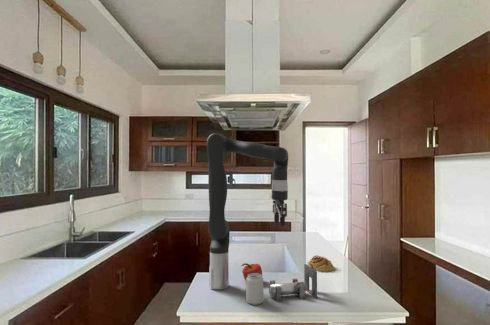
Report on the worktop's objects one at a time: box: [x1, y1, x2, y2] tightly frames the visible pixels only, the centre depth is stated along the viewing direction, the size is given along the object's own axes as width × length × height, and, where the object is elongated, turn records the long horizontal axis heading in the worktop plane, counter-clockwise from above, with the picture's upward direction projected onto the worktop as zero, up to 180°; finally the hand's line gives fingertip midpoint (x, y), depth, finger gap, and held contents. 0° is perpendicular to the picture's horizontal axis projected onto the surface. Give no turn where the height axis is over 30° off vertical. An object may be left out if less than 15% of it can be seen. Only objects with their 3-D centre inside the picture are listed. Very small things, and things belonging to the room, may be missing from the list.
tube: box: [268, 280, 307, 297], centre depth 160 cm, size 16×5×5 cm, turn 103°
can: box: [245, 273, 264, 306], centre depth 154 cm, size 8×8×12 cm
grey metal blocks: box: [269, 279, 282, 302], centre depth 159 cm, size 2×10×6 cm, turn 13°
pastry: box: [307, 254, 336, 273], centre depth 202 cm, size 13×15×8 cm
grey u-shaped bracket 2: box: [292, 277, 306, 300], centre depth 162 cm, size 2×10×6 cm, turn 13°
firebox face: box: [303, 263, 318, 300], centre depth 163 cm, size 1×12×12 cm, turn 13°
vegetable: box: [241, 262, 263, 282], centre depth 179 cm, size 11×10×10 cm
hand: (279, 223), depth 166 cm, fingers open, 8 cm apart
